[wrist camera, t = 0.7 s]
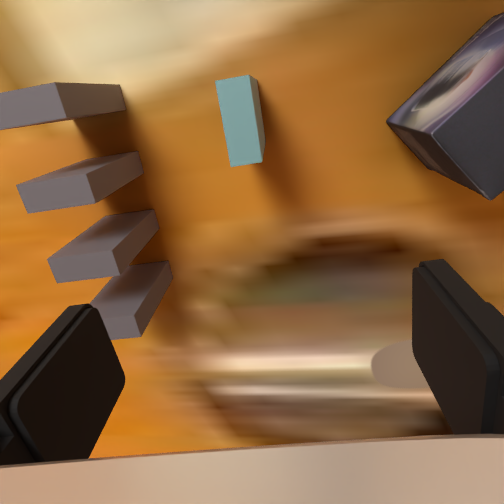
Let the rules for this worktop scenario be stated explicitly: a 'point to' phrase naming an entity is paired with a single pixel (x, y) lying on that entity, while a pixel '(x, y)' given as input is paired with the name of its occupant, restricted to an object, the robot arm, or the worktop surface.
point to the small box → (462, 114)
